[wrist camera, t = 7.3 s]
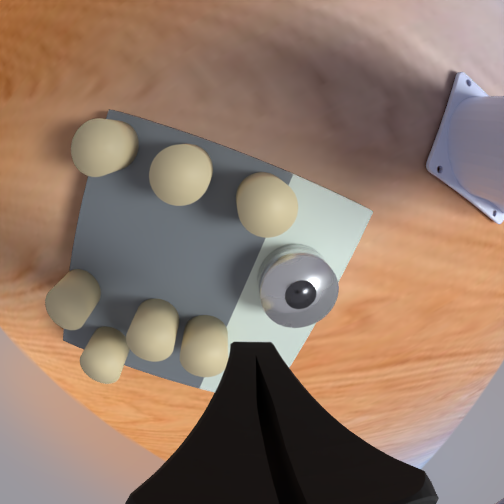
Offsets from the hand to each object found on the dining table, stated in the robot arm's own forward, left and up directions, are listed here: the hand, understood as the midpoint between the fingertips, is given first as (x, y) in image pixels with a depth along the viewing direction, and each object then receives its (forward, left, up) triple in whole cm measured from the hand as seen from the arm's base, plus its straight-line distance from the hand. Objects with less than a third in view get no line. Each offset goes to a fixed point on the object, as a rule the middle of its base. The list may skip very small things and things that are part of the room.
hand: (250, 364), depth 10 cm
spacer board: (+2, +2, -9) cm, 9 cm away
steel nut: (-3, -1, -7) cm, 8 cm away
